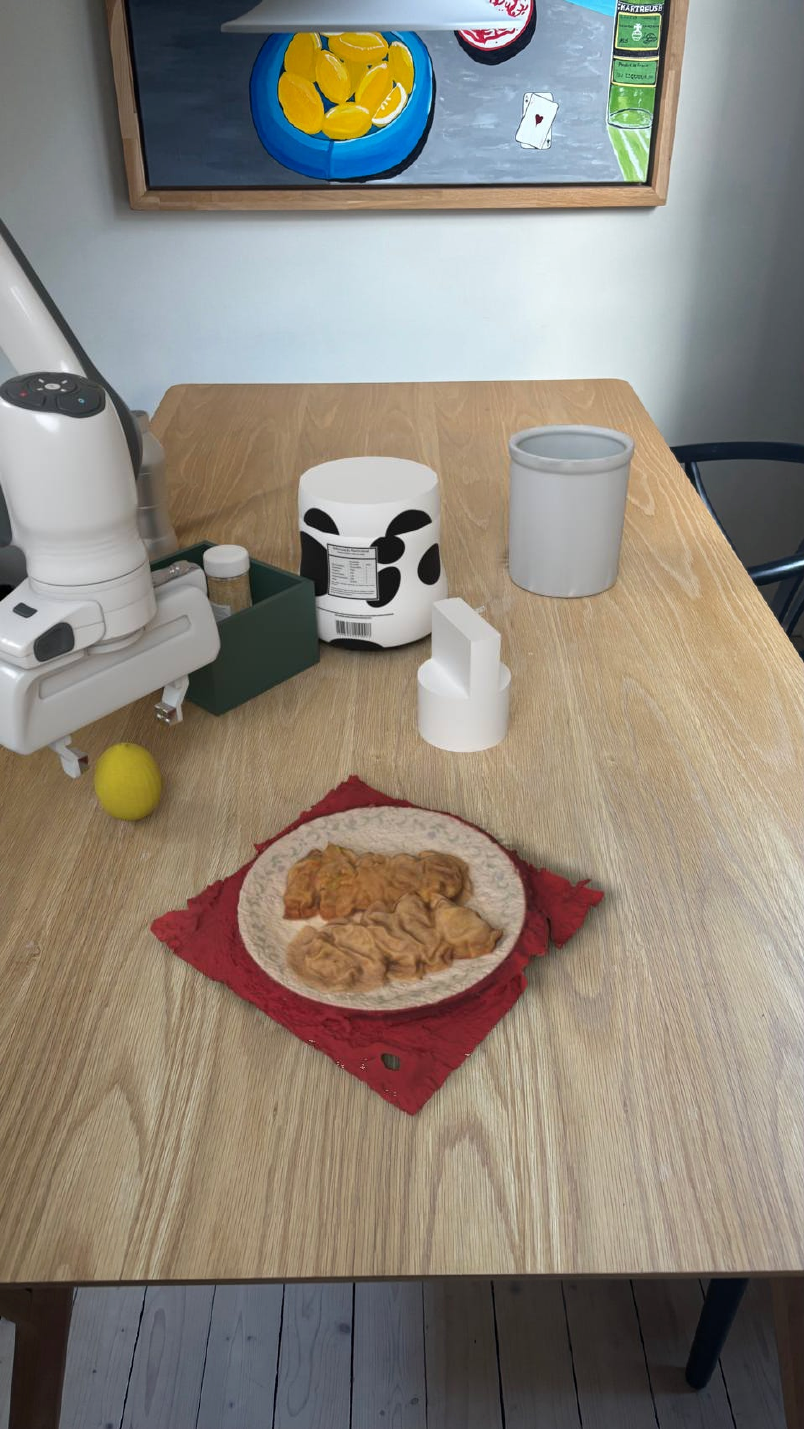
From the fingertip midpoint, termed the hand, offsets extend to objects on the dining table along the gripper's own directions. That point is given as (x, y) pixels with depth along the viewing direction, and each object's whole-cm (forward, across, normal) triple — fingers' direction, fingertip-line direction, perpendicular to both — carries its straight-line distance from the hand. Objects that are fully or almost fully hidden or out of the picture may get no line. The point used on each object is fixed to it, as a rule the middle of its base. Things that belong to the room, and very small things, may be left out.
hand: (125, 746), depth 86 cm
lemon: (+8, 0, 0) cm, 8 cm away
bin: (+8, -23, -16) cm, 29 cm away
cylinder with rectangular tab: (+8, -30, +13) cm, 33 cm away
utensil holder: (+8, -66, +1) cm, 66 cm away
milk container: (+8, -40, -8) cm, 41 cm away
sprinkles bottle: (+7, -23, -12) cm, 27 cm away
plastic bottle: (+8, -35, -42) cm, 55 cm away
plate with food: (+8, -4, +25) cm, 26 cm away
